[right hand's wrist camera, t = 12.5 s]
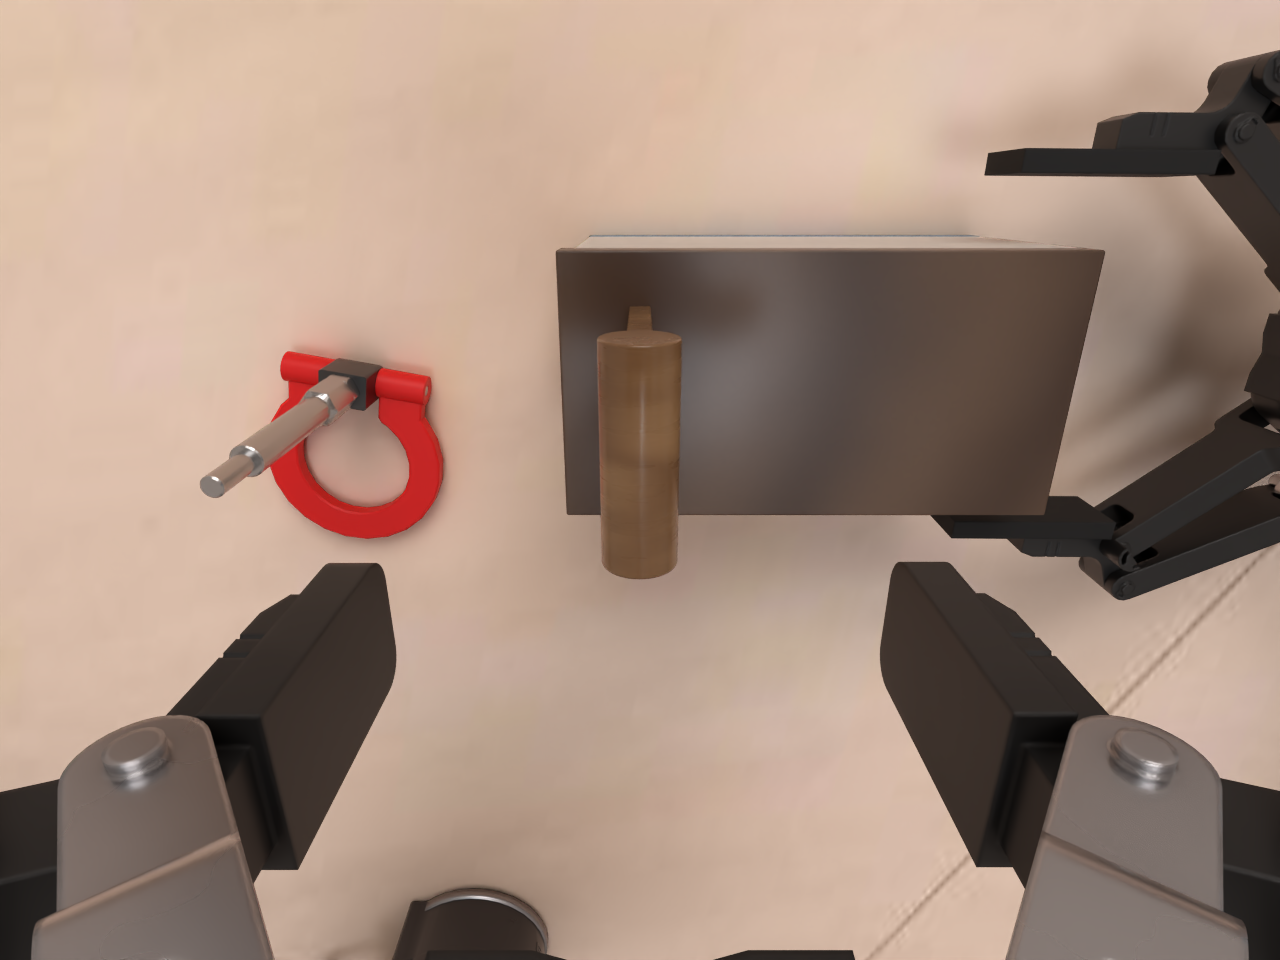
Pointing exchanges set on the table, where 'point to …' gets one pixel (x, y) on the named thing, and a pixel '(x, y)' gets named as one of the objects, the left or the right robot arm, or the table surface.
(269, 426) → the tow hook
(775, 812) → the table surface
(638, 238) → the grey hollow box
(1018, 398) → the lid
